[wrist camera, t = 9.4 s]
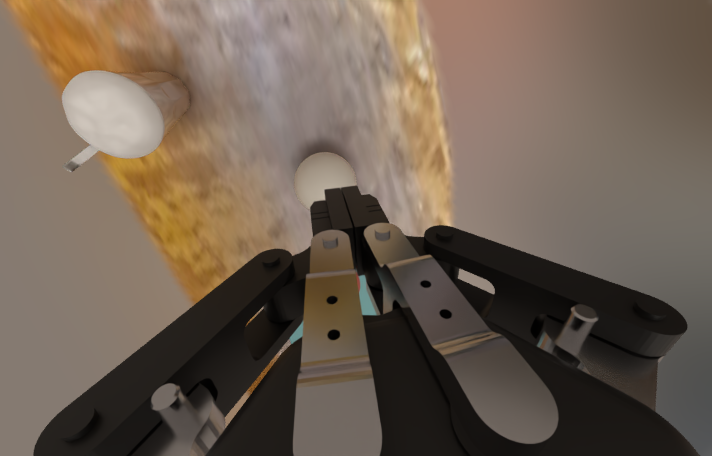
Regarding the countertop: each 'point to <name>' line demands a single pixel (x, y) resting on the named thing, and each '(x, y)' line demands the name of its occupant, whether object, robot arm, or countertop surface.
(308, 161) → the ball
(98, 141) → the milkshake
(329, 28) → the countertop surface
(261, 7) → the countertop surface
